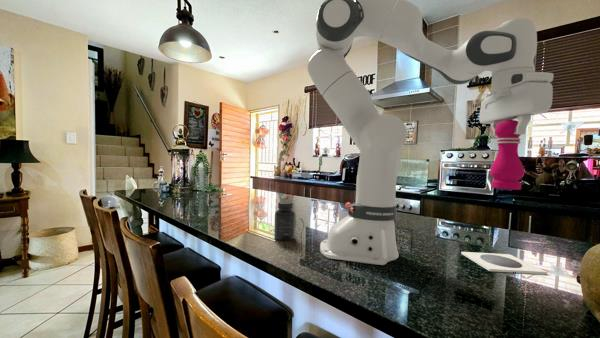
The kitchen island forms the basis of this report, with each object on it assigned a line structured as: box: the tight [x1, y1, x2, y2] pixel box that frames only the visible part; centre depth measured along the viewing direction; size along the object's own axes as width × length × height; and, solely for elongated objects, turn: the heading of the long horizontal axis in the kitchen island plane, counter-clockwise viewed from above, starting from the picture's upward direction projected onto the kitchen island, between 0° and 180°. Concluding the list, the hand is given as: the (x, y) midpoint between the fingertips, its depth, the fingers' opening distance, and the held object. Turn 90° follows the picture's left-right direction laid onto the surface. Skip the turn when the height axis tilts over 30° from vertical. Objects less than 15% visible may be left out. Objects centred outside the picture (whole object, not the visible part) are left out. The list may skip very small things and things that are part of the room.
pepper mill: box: [489, 117, 525, 190], centre depth 68 cm, size 7×7×20 cm
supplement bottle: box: [273, 201, 296, 242], centre depth 84 cm, size 7×7×12 cm
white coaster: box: [460, 251, 548, 275], centre depth 69 cm, size 14×12×1 cm
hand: (508, 136), depth 68 cm, fingers closed on pepper mill, 6 cm apart
